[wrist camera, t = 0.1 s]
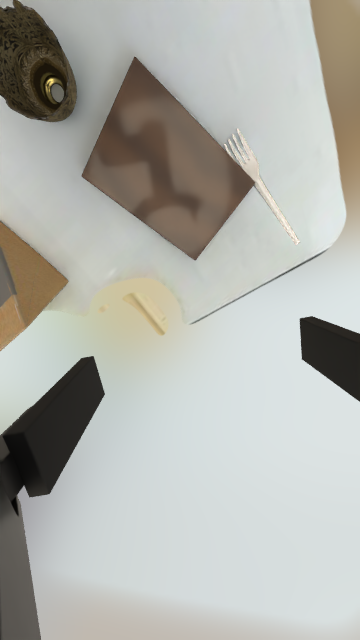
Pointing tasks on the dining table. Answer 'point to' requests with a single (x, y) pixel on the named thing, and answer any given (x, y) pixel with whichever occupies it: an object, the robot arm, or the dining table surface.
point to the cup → (33, 66)
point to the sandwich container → (23, 285)
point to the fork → (258, 180)
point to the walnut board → (165, 165)
